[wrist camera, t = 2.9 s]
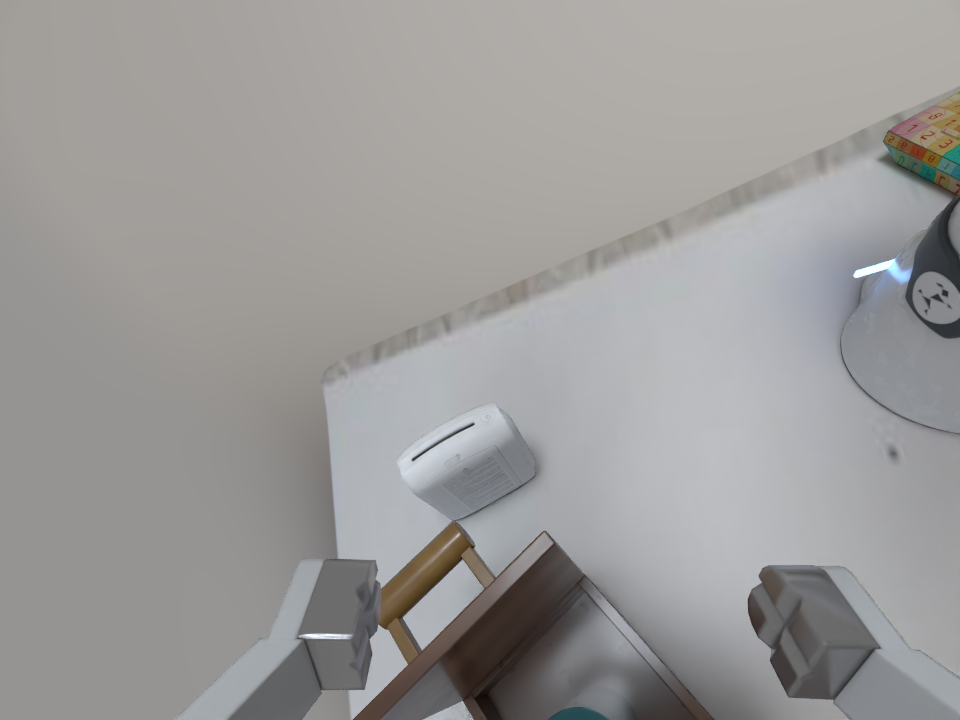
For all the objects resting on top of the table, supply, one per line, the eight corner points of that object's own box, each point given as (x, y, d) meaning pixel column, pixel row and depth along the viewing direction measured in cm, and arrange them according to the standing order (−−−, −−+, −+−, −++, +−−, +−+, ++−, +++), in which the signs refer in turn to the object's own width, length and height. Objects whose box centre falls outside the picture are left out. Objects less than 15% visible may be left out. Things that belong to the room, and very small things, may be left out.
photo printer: (524, 439, 46) (491, 382, 36) (544, 475, 44) (515, 425, 34) (436, 489, 46) (379, 447, 36) (452, 528, 44) (395, 494, 34)
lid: (556, 542, 21) (488, 466, 23) (340, 758, 19) (293, 648, 22) (584, 574, 34) (539, 524, 37) (460, 702, 33) (422, 639, 35)
